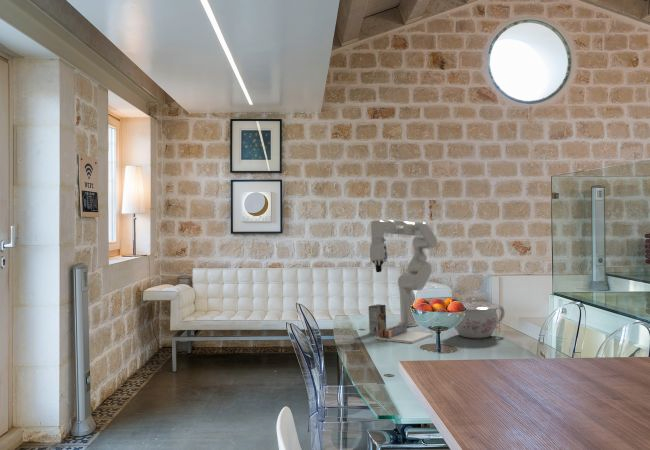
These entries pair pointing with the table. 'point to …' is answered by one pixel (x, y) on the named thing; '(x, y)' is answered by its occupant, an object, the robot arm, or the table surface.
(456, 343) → the table surface
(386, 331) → the tong arm
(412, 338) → the plate
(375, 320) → the coffee box
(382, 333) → the tong base
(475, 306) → the chamber pot
